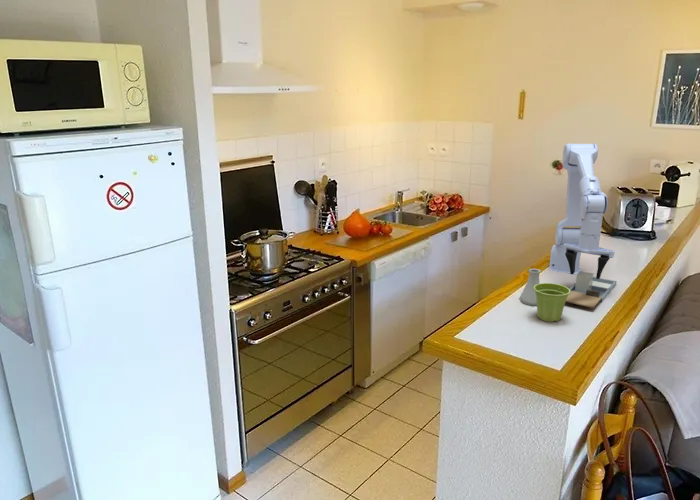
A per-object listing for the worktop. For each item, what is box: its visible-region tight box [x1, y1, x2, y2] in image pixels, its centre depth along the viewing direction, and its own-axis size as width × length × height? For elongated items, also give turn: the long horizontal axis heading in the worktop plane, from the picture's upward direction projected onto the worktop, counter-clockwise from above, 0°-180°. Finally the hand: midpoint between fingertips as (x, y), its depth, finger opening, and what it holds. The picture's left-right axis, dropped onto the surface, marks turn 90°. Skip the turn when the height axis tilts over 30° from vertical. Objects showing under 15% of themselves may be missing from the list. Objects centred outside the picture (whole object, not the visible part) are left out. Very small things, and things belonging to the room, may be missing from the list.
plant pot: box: [534, 282, 570, 323], centre depth 147 cm, size 9×9×9 cm
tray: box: [569, 276, 617, 303], centre depth 168 cm, size 10×19×2 cm, turn 142°
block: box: [575, 270, 594, 293], centre depth 166 cm, size 4×4×6 cm
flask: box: [518, 268, 542, 307], centre depth 158 cm, size 7×7×10 cm
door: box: [565, 289, 602, 309], centre depth 156 cm, size 10×9×2 cm
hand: (585, 275), depth 166 cm, fingers open, 7 cm apart
